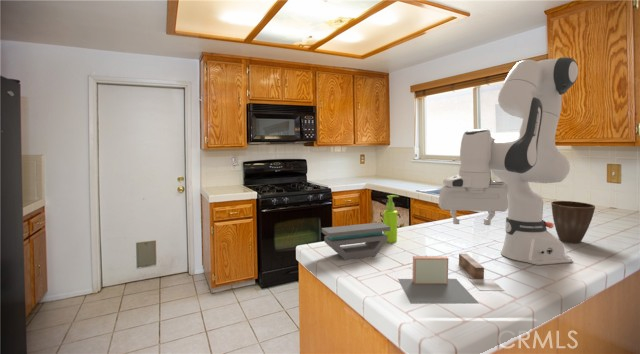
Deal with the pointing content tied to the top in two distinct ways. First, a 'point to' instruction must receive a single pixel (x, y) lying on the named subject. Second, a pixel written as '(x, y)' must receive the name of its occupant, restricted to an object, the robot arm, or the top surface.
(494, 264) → the top surface
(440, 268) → the tile
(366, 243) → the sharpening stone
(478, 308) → the top surface
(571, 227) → the plant pot
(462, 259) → the turner
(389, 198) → the soap dispenser
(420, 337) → the top surface
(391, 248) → the top surface
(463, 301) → the mat
